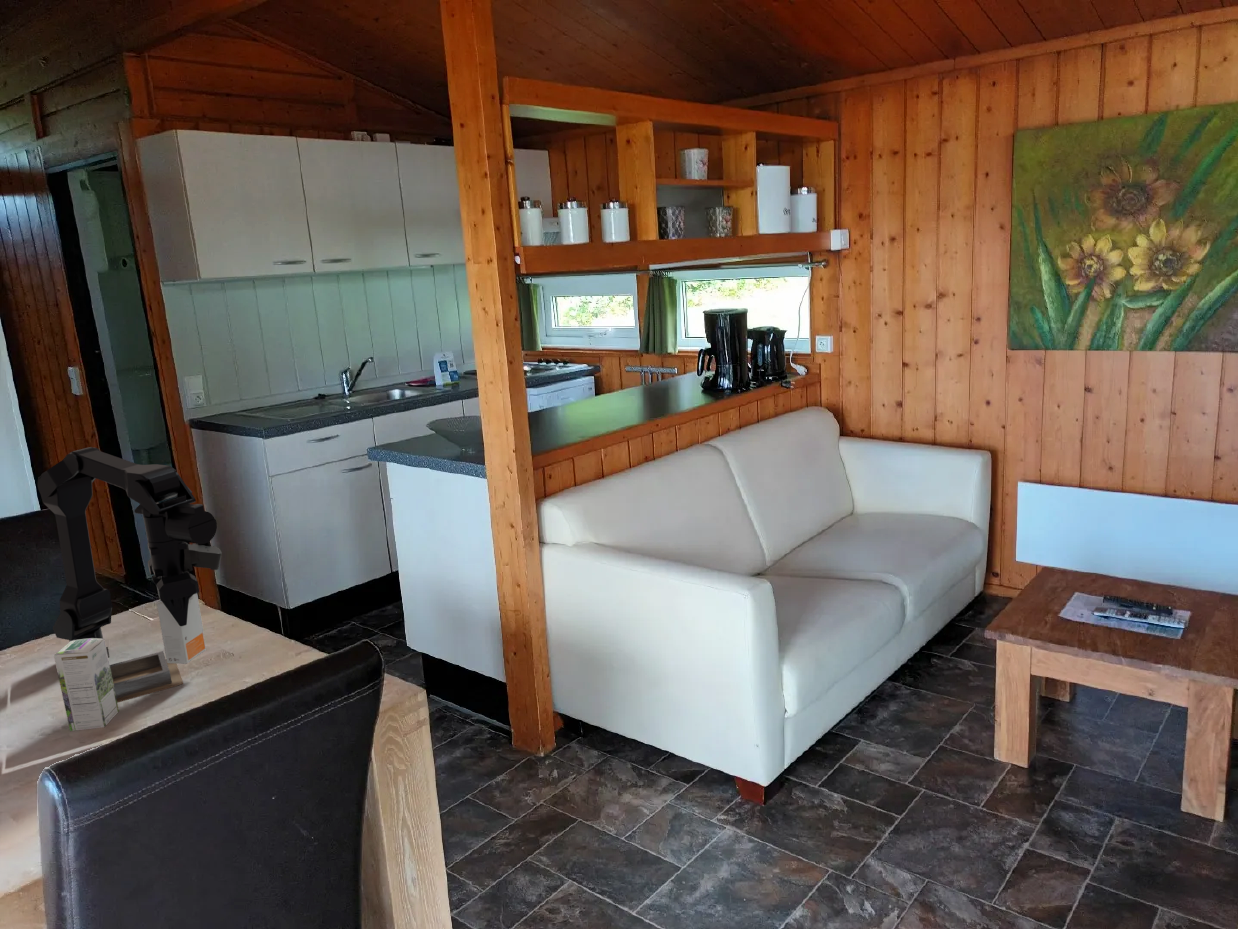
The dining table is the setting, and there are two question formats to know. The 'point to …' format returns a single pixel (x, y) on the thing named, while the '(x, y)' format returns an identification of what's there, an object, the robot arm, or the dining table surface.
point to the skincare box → (182, 633)
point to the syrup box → (86, 683)
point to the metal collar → (142, 681)
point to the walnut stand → (172, 667)
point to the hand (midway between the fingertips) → (180, 618)
